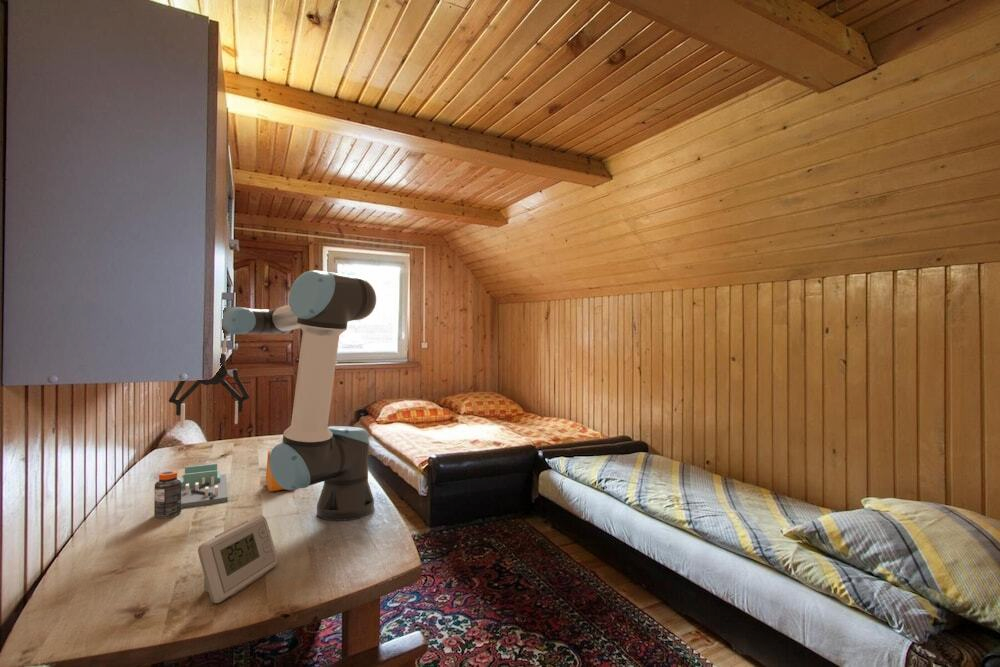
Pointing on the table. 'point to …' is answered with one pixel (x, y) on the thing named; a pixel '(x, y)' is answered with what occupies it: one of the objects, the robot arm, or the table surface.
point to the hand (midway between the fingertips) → (210, 425)
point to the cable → (202, 491)
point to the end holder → (200, 475)
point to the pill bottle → (167, 495)
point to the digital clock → (237, 558)
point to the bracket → (271, 477)
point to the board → (200, 499)
